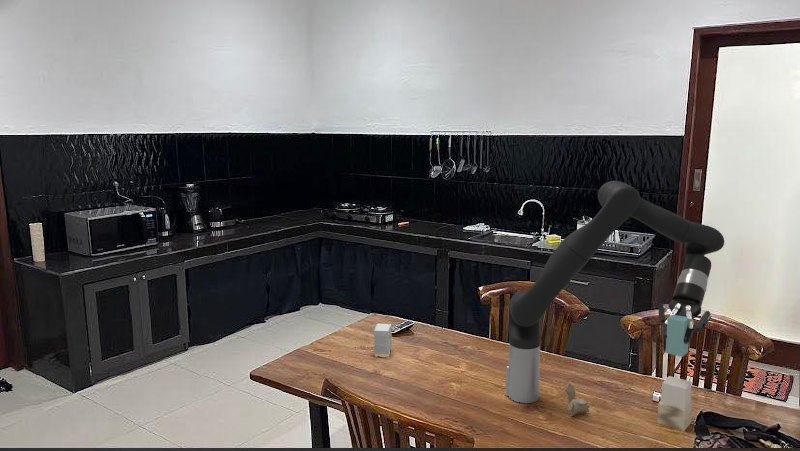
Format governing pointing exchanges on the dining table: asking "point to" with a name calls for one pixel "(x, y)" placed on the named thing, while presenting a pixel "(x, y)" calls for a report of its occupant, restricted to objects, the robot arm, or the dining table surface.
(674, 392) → the cream block
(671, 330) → the teal block
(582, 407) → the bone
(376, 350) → the small box
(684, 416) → the beech block
